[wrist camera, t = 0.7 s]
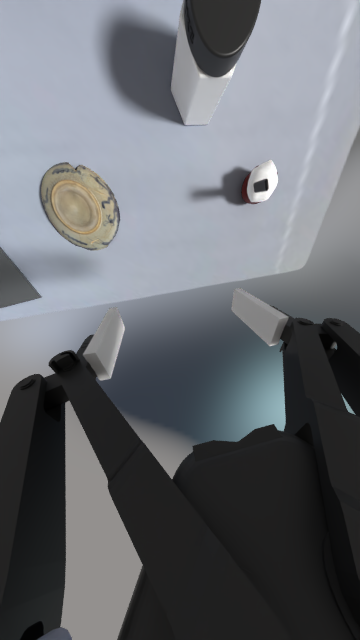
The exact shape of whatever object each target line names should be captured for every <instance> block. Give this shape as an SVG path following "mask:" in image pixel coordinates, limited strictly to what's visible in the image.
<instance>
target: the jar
mask: <svg viewBox="0 0 360 640" xmlns="http://www.w3.org/2000/svg"><path fill="white" fill-rule="evenodd" d="M260 4H261V0H183V4H182V8H181V12H180V17H179V25H178V33H177V41H176V49H175V57H174V65H173V73H172V81H171V92H172V94H173V97H174V99H175V102H176V104H177V107H178V109H179V112H180V114H181V117H182V119H183V122H184V124H185V125H208V123H209V121H210V119H211V117H212V115H213V113H214V111H215V109H216V107H217V105H218V103H219V101H220V99H221V97H222V95H223V93H224V91H225V89H226V87H227V85H228V83H229V81H230V79H231V77H232V74H233V72H234V69H235V66H236V63H237V61H238V59H239V58H240V55H241V53H242V51H243V49H244V47H245V45H246V43H247V41H248V39H249V37H250V35H251V33H252V30H253V28H254V25H255V22H256V19H257V16H258V13H259V8H260Z"/></svg>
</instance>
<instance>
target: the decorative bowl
mask: <svg viewBox="0 0 360 640" xmlns="http://www.w3.org/2000/svg"><path fill="white" fill-rule="evenodd" d="M41 195H42V202H43V205H44V209H45V211H46V214H47V216H48V218H49V219H50V221H51V223H52V224H53V226H54V227H55V228H56V230H57V231H58V232H59V233H60V234H61V235H62V236H63V237H64V238H65V239H67V240H68V241H69V242H71V243H72V244H74V245H76V246H80V247H83V248H86V249H88V250H101V249H104V248H106V247H108V245H109V243H110V242H111V241H112V240H113V238H114V237H115V235H116V233H117V231H118V226H119V222H120V213H119V208H118V204H117V201H116V199H115V198H114V194H113V193H112V191H111V189H110V188H109V186H108V185H107V184H106V183H105V182H104V180H103V179H102V178H101V177H100V176H99V175H97V174H96V173H95V172H94V171H91V170H90V169H89V168H87V167H85V166H83V165H79V166H78V168H77V170H75V169H74V168H73V167H72V166H71V165H70V164H69V163H68V162H65V163H59V164H56V165H54V166H53V167H51V168H50V169H49V170H48V171H47V172H46V174H45V176H44V178H43V181H42V186H41Z"/></svg>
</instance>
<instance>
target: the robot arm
mask: <svg viewBox="0 0 360 640" xmlns="http://www.w3.org/2000/svg"><path fill="white" fill-rule="evenodd" d="M232 311H233V312H234V313H235V314H236V315H237V316H238V317H239V318H240V319H241V320H242V321H243V322H245V323H246V324H247V325H248V326H249V327H250V328H251V329H252V330H253V331H254V332H255V333H256V334H257V335H259V336H260V337H261V338H262V339H263V340H264V341H265V342H266V343H267V344H268V345H269V346H272V345H277V344H278V343H279V340H280V339H281V340H283V341H284V342H283V344H282V347H281V349H280V352H281V351H283V372H284V392H285V413H286V425H285V429H284V431H279V430H277V428H276V427H275V425H274V424H272V425H269V426H265V427H261V428H258V429H255V430H253V431H252V432H251V433H249V434H248V435H247V436H245V437H244V438H243V439H241V440H240V441H238V442H228V441H215V440H213V441H209V442H206V443H202V444H199V445H195V446H193V452H192V453H191V454H189V455H188V456H187V457H186V458H185V459H184V460H183V461H182V463H181V464H180V466H179V467H178V469H177V470H176V473H175V475H174V477H173V479H171V478H170V477H169V475H168V474H167V473H166V471H165V470H164V469H163V467H162V466H161V465H160V464H159V462H158V461H157V460H156V458H155V457H154V456H153V454H152V453H151V452H150V451H149V449H148V448H147V447H146V445H145V444H144V443H143V442H142V441H141V440H140V438H139V437H138V436H137V434H136V433H135V432H134V430H133V429H132V428H131V426H130V425H129V424H128V422H127V421H126V420H125V418H124V417H123V416H122V414H121V413H120V412H119V410H118V409H117V408H116V407H115V405H114V404H113V403H112V401H111V400H110V399H109V398H108V396H107V395H106V393H105V392H104V391H103V389H102V388H101V387H100V386H99V384H98V383H97V382H96V377H98V378H99V380H105V379H110V378H111V376H112V372H113V369H114V365H115V361H116V358H117V355H118V351H119V347H120V344H121V340H122V337H123V333H124V330H125V327H124V324H123V322H122V319H121V317H120V314H119V311H118V308H117V307H114V308H109V310H108V312H107V313H106V315H105V317H104V319H103V321H102V322H101V324H100V326H99V327H98V329H97V331H96V333H95V334H94V335H90V336H89V337H87V338H86V339H85V341H84V342H83V345H81V347H80V349H79V350H78V352H77V354H75V352H74V351H71V350H69V351H64V352H62V353H59V354H58V355H56V356H54V357H53V358H52V359H51V360H50V362H49V366H50V367H51V368H52V370H54V372H55V374H53V375H50V376H47V377H45V378H44V377H43V376H42V375H40V374H34V375H31V376H29V377H27V378H25V379H23V380H22V381H20V382H19V383H18V384H17V385H16V386H15V387H14V388H13V390H12V392H11V395H10V397H9V400H8V403H7V406H6V408H5V411H4V414H3V416H2V419H1V422H0V640H72V637H71V636H70V634H69V632H68V630H67V629H65V628H62V627H60V624H61V616H62V606H63V598H64V588H65V566H66V564H65V563H66V519H65V518H66V509H65V507H66V501H65V402H67V401H69V400H70V402H71V404H72V406H73V408H74V411H75V412H76V415H77V416H78V419H79V421H80V423H81V425H82V427H83V429H84V431H85V433H86V435H87V437H88V439H89V441H90V443H91V445H92V448H93V450H94V452H95V453H96V456H97V458H98V460H99V462H100V464H101V466H102V468H103V470H104V472H105V474H106V476H107V479H108V489H109V492H110V495H111V497H112V500H113V502H114V504H115V506H116V508H117V510H118V513H119V515H120V517H121V519H122V521H123V523H124V525H125V528H126V530H127V532H128V534H129V536H130V538H131V540H132V543H133V545H134V547H135V549H136V551H137V553H138V556H139V558H140V560H141V562H142V564H143V566H142V569H141V572H140V575H139V578H138V581H137V584H136V586H135V590H134V592H133V595H132V598H131V601H130V604H129V607H128V610H127V613H126V616H125V618H124V622H123V624H122V628H121V630H120V633H119V636H118V639H117V640H360V333H359V332H357V331H356V330H355V329H354V328H352V327H351V326H350V325H349V324H347V323H345V322H344V321H341V320H339V319H332V318H327V319H324V321H323V323H322V324H314V323H313V322H311V321H310V320H307V319H303V318H295V319H294V318H292V317H291V316H289V315H287V314H286V313H284V312H282V311H280V310H278V309H277V308H275V307H274V306H271V305H268V304H266V303H264V302H263V301H261V300H259V299H258V298H256V297H254V296H253V295H251V294H249V293H248V292H246V291H244V290H242V289H241V288H239V289H234V295H233V302H232ZM336 344H337V350H336V349H335V348H334V347H335V345H336ZM341 394H342V395H343V397H344V398H345V400H346V401H347V402H348V404H349V406H350V407H351V409H352V410H353V411H354V413H355V414H356V415H354V414H352V413H349V412H348V410H347V409H346V406H345V403H344V400H343V398H342V395H341Z"/></svg>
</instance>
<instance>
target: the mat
mask: <svg viewBox="0 0 360 640" xmlns="http://www.w3.org/2000/svg"><path fill="white" fill-rule="evenodd" d="M37 298H41V296H40V294H39V293H38V292H37V291H36V290H35V288H34V287H33V286H32V285H31V284H30V282H29V281H28V280H27V279H26V278H25V276H24V275H23V274H22V273H21V272H20V270H19V269H18V268H17V267H16V266H15V264H14V263H13V262H12V261H11V260H10V258H9V257H8V256H7V255H6V253H5V252H4V251H3V250H2V249H1V247H0V308H3V307H7V306H11V305H15V304H18V303H22V302H26V301H30V300H34V299H37Z"/></svg>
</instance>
